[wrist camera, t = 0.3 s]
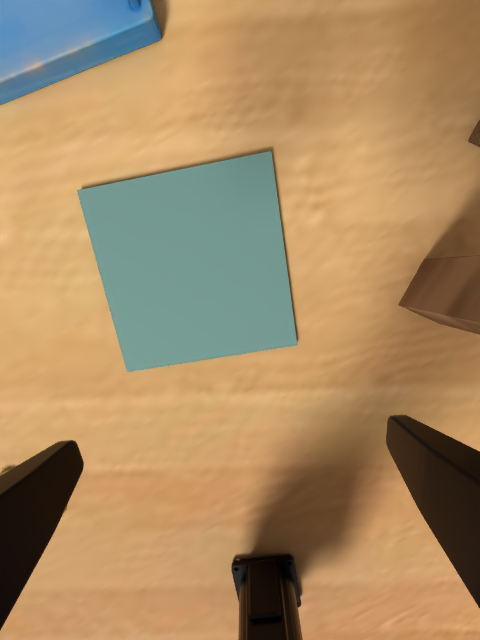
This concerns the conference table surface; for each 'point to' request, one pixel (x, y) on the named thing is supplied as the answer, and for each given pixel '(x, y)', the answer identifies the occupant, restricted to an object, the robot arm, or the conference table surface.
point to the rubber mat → (193, 262)
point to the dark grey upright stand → (476, 135)
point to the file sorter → (67, 38)
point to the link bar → (447, 292)
